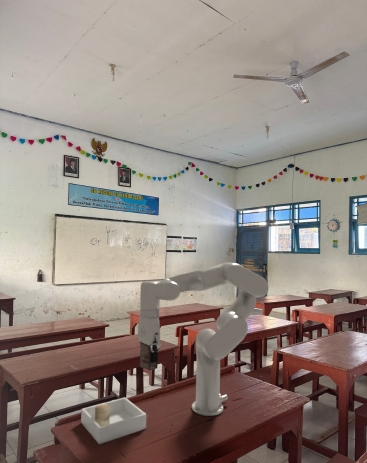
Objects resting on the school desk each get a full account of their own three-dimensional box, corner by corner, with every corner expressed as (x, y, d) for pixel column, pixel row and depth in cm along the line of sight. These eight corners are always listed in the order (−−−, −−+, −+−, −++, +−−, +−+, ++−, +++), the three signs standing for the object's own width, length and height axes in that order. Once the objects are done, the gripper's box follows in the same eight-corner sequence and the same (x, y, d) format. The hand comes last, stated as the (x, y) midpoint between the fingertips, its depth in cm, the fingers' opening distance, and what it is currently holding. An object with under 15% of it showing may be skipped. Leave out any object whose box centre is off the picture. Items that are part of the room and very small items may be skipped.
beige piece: (93, 426, 122) (93, 406, 122) (107, 422, 124) (107, 402, 125) (97, 432, 117) (97, 412, 118) (111, 429, 120) (111, 408, 120)
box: (158, 368, 132) (158, 336, 133) (149, 371, 129) (149, 338, 130) (148, 364, 137) (148, 333, 137) (139, 367, 133) (139, 335, 134)
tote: (124, 410, 135) (125, 397, 136) (146, 428, 122) (146, 414, 122) (81, 422, 125) (81, 408, 125) (99, 444, 112) (99, 428, 112)
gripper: (130, 310, 139) (129, 355, 138) (153, 318, 125) (152, 368, 124) (146, 308, 143) (146, 352, 142) (170, 315, 129) (169, 364, 128)
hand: (149, 359), depth 133 cm, fingers closed on box, 6 cm apart
